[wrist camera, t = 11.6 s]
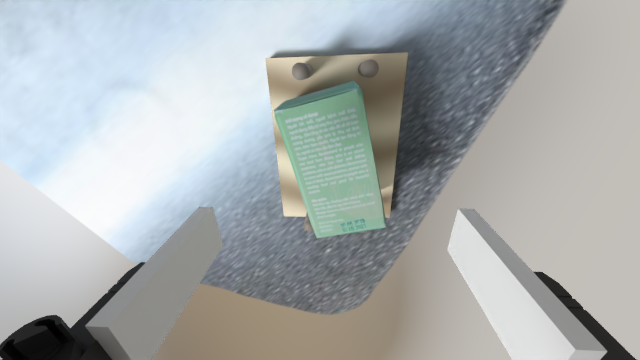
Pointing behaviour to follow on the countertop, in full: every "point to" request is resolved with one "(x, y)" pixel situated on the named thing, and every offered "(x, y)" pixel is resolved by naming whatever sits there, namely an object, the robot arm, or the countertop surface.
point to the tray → (379, 99)
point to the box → (333, 159)
